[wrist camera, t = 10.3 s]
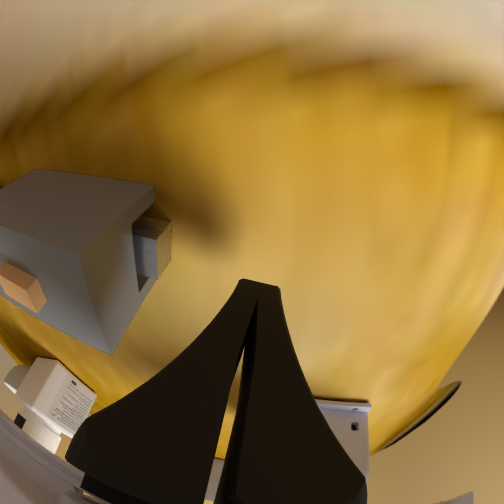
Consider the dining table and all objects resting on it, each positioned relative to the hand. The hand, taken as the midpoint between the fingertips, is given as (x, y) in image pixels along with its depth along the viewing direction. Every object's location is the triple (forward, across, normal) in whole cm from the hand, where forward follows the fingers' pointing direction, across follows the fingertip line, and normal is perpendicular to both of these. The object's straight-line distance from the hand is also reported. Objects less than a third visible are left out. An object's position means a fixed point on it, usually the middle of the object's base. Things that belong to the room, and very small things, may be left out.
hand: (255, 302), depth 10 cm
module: (+2, +9, 0) cm, 9 cm away
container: (+2, +22, +26) cm, 34 cm away
